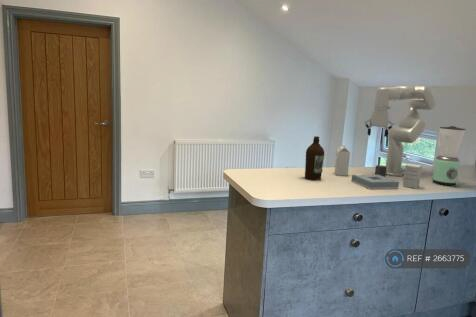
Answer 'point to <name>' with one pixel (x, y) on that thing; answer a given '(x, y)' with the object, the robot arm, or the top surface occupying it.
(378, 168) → the plug
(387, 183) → the socket plate
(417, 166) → the supplement box
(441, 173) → the mint green blender
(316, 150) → the olive oil
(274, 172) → the top surface
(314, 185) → the top surface
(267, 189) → the top surface
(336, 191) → the top surface
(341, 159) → the milk carton
